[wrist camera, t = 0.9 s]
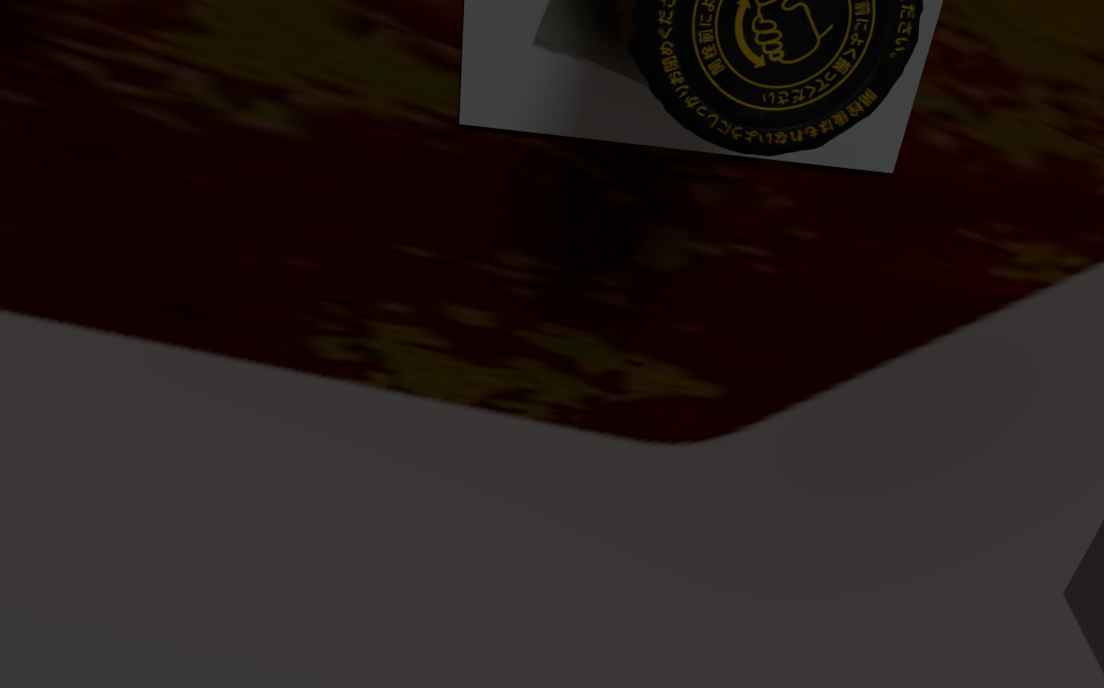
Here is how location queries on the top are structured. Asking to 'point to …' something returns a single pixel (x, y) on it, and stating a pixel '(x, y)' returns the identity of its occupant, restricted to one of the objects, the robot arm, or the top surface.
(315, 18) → the top surface
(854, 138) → the sheet
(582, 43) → the condiment
